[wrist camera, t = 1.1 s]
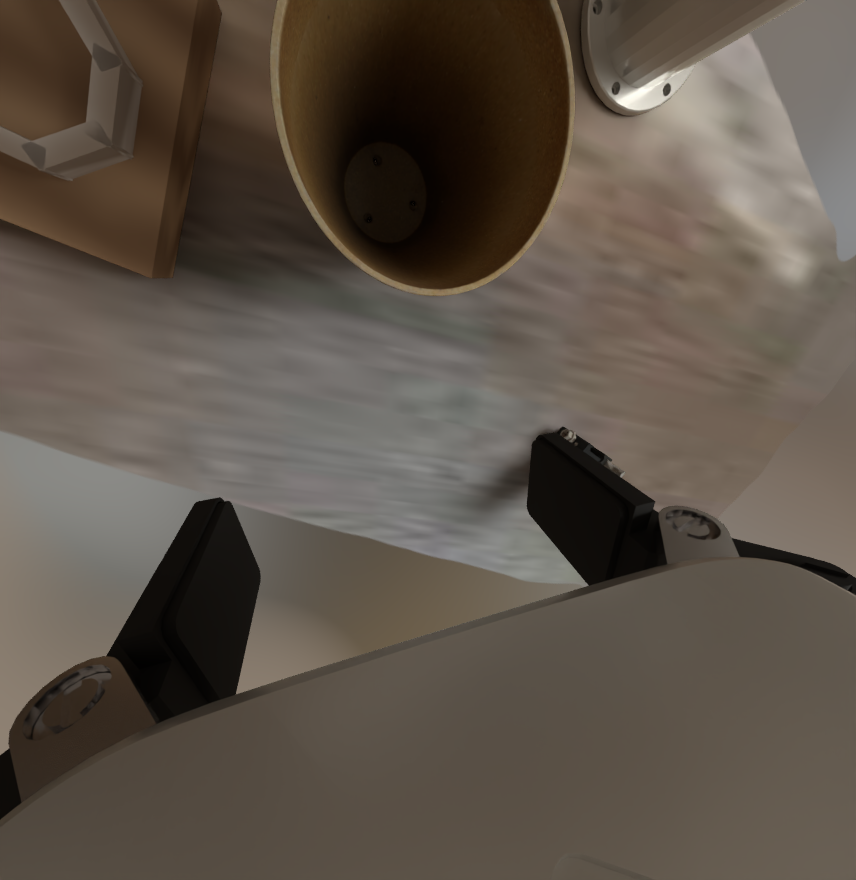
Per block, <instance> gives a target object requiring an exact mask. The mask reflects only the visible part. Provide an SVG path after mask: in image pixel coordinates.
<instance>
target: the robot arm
mask: <svg viewBox="0 0 856 880" xmlns="http://www.w3.org/2000/svg"><path fill="white" fill-rule="evenodd" d="M804 1H806V0H584V2H583V8H582V21H581V40H582V52H583V58H584V63H585V68H586V71H587V74H588V77H589V80H590V83H591V85H592V87H593V89H594V90H595V92H596V94H597V96H598V97H599V98H600V99H601V101H602V102H603V103H604V104H605V105H606V106H607V107H609V108H610V109H611V110H613V111H614V112H616V113H620V114H623V115H639V114H643V113H646V112H649V111H650V110H652V109H654V108H657V107H659V106H660V105H662V104H663V103H665V102H666V101H668V100H669V99H670V98H671V97H672V96H673V95H674V94H675V93H676V92H677V91H678V90H679V89H680V88H681V87H682V85H683V84H684V82H685V81H686V80H687V78H688V77H689V76H690V74H691V72H692V70H693V69H694V67H695V65H696V63H697V62H699V61H701V60H703V59H704V58H706V57H708V56H710V55H711V54H713V53H715V52H717V51H718V50H720V49H722V48H724V47H725V46H727V45H729V44H731V43H732V42H734V41H736V40H738V39H739V38H741V37H743V36H745V35H746V34H748V33H750V32H752V31H753V30H755V29H757V28H758V27H760V26H762V25H764V24H766V23H767V22H769V21H771V20H773V19H774V18H776V17H778V16H779V15H781V14H783V13H785V12H787V11H788V10H790V9H792V8H794V7H796V6H797V5H799V4H801V3H803V2H804ZM654 504H655V501H654V500H652V499H651V498H649V497H648V496H647V495H645V494H644V493H642V492H641V491H639V490H638V489H637V488H635V487H634V486H632V485H631V484H629V483H628V482H627V481H625V480H624V479H622V478H621V477H619V476H618V475H617V474H615V473H614V472H612V471H611V470H609V469H608V468H606V467H605V466H604V465H602V464H601V463H599V462H598V461H596V460H595V459H594V458H592V457H591V456H589V455H588V454H586V453H585V452H584V451H582V450H581V449H579V448H578V447H576V446H575V445H574V444H572V443H571V442H569V441H568V440H566V439H565V438H564V437H562V436H561V435H559V434H558V433H556V432H555V433H549V434H544V435H539V436H538V437H537V438H536V440H535V441H533V443H532V451H531V462H530V474H529V485H528V497H527V509H528V512H529V514H530V516H531V517H532V518H533V519H534V520H535V522H536V523H537V524H538V525H539V526H540V528H541V529H542V530H543V531H544V532H545V534H546V535H547V536H548V537H549V538H550V540H551V541H552V542H553V543H554V544H555V546H556V547H557V548H558V549H559V550H560V552H561V553H562V554H563V555H564V556H565V558H566V559H567V560H568V561H569V562H570V564H571V565H572V566H573V567H574V568H575V570H576V571H577V572H578V573H579V574H580V576H581V577H582V578H583V579H584V580H585V582H586V583H587V584H588V585H589V586H587V587H583V588H580V589H577V590H573V591H570V592H567V593H563V594H560V595H557V596H553V597H550V598H547V599H543V600H540V601H536V602H533V603H530V604H526V605H523V606H520V607H516V608H513V609H510V610H506V611H503V612H500V613H497V614H493V615H490V616H487V617H483V618H480V619H477V620H473V621H470V622H467V623H463V624H460V625H457V626H454V627H450V628H447V629H444V630H440V631H437V632H434V633H431V634H427V635H424V636H421V637H417V638H414V639H411V640H408V641H404V642H401V643H398V644H395V645H392V646H388V647H385V648H382V649H378V650H375V651H372V652H369V653H366V654H362V655H359V656H356V657H353V658H349V659H346V660H343V661H340V662H337V663H333V664H330V665H327V666H324V667H321V668H317V669H314V670H311V671H308V672H304V673H301V674H298V675H295V676H292V677H288V678H285V679H282V680H279V681H276V682H273V683H270V684H267V685H264V686H261V687H258V688H255V689H252V690H249V691H246V692H243V693H240V694H236V690H237V686H238V681H239V677H240V672H241V668H242V663H243V659H244V654H245V649H246V645H247V640H248V636H249V631H250V626H251V622H252V617H253V613H254V608H255V603H256V599H257V594H258V590H259V585H260V570H259V567H258V565H257V562H256V560H255V557H254V555H253V553H252V550H251V548H250V546H249V544H248V541H247V539H246V536H245V534H244V531H243V529H242V527H241V524H240V522H239V520H238V517H237V515H236V513H235V510H234V508H233V505H232V503H231V502H230V501H225V502H224V500H223V499H222V498H220V497H219V498H214V499H209V500H204V501H199V502H196V503H195V504H194V506H193V507H192V509H191V511H190V513H189V514H188V516H187V518H186V520H185V521H184V523H183V525H182V526H181V528H180V530H179V532H178V533H177V535H176V537H175V539H174V540H173V542H172V544H171V546H170V547H169V549H168V551H167V552H166V554H165V556H164V558H163V560H162V561H161V563H160V564H159V566H158V568H157V570H156V571H155V573H154V574H153V576H152V578H151V580H150V581H149V583H148V585H147V587H146V588H145V590H144V592H143V593H142V595H141V597H140V599H139V600H138V602H137V604H136V606H135V608H134V609H133V611H132V613H131V614H130V616H129V618H128V619H127V621H126V623H125V625H124V626H123V628H122V630H121V632H120V633H119V635H118V637H117V639H116V640H115V642H114V644H113V645H112V647H111V649H110V651H109V652H108V654H107V656H102V657H98V658H93V659H89V660H87V661H85V662H82V663H80V664H77V665H75V666H73V667H72V668H70V669H68V670H67V671H65V672H63V673H62V674H60V675H59V676H57V677H56V678H55V679H53V680H52V681H51V682H49V683H48V684H47V685H46V686H44V687H43V688H42V689H41V690H40V691H39V692H38V693H37V694H36V695H35V696H34V697H33V698H32V699H31V700H30V701H29V702H28V703H27V704H26V705H25V707H24V708H23V709H22V711H21V712H20V713H19V715H18V716H17V717H16V719H15V721H14V723H13V725H12V728H11V729H10V732H9V743H8V744H9V749H8V750H7V751H5V752H4V753H3V754H1V755H0V880H856V578H855V577H853V576H852V575H850V574H848V573H847V572H845V571H844V570H843V569H841V568H839V567H837V566H835V565H833V564H831V563H828V562H825V561H821V560H817V559H814V558H810V557H806V556H802V555H798V554H794V553H790V552H786V551H782V550H778V549H774V548H770V547H766V546H762V545H757V544H753V543H749V542H745V541H741V540H737V539H733V538H731V536H730V533H729V531H728V530H727V528H726V527H725V525H724V524H722V523H721V522H720V521H719V520H718V519H716V518H715V517H713V516H711V515H709V514H708V513H705V512H703V511H700V510H698V509H694V508H690V507H685V506H668V507H665V508H663V509H662V510H661V511H660V512H659V513H658V512H656V511H655V510H654V509H653V507H654Z"/></svg>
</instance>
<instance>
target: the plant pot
mask: <svg viewBox="0 0 856 880" xmlns="http://www.w3.org/2000/svg"><path fill="white" fill-rule="evenodd" d="M270 85H271V97H272V105H273V111H274V117H275V122H276V128H277V132H278V136H279V140H280V144H281V148H282V151H283V154H284V157H285V160H286V163H287V166H288V168H289V171H290V173H291V176H292V178H293V181H294V183H295V185H296V187H297V189H298V192H299V194H300V196H301V198H302V200H303V201H304V203H305V205H306V207H307V208H308V210H309V212H310V213H311V215H312V217H313V218H314V220H315V221H316V223H317V224H318V226H319V227H320V229H321V230H322V231H323V232H324V234H325V235H326V236H327V237H328V239H329V240H330V241H331V242H332V243H333V244H334V246H335V247H336V248H337V249H338V250H339V251H340V252H341V253H342V254H343V255H344V256H345V257H346V258H347V259H348V260H350V261H351V262H352V263H353V264H355V265H356V266H357V267H358V268H360V269H361V270H362V271H364V272H365V273H367V274H368V275H370V276H371V277H373V278H375V279H376V280H378V281H380V282H382V283H384V284H386V285H389V286H391V287H393V288H396V289H398V290H401V291H405V292H408V293H413V294H418V295H427V296H446V295H454V294H459V293H463V292H467V291H470V290H473V289H475V288H478V287H480V286H482V285H484V284H486V283H488V282H490V281H492V280H494V279H495V278H497V277H498V276H500V275H501V274H502V273H504V272H505V271H507V270H508V269H509V268H510V267H511V266H512V265H514V264H515V263H516V262H517V261H518V260H519V259H520V258H521V256H522V255H523V254H524V253H525V252H526V251H527V250H528V248H529V247H530V246H531V244H532V243H533V242H534V240H535V239H536V238H537V236H538V235H539V233H540V232H541V230H542V229H543V227H544V225H545V223H546V221H547V220H548V218H549V216H550V214H551V212H552V209H553V207H554V205H555V203H556V201H557V198H558V195H559V193H560V190H561V187H562V184H563V181H564V177H565V174H566V170H567V165H568V161H569V157H570V151H571V144H572V137H573V127H574V115H575V88H574V74H573V64H572V58H571V51H570V45H569V41H568V36H567V32H566V28H565V24H564V21H563V17H562V14H561V11H560V8H559V5H558V3H557V0H277V4H276V8H275V13H274V18H273V25H272V32H271V42H270ZM374 158H375V159H376V160H377V165H375V163H374ZM411 201H414V202H415V204H416V205H415V206H412V205H411ZM369 217H370V218H372V220H371V221H370V222H367V219H368V218H369Z"/></svg>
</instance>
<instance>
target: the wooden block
mask: <svg viewBox="0 0 856 880" xmlns="http://www.w3.org/2000/svg"><path fill="white" fill-rule="evenodd" d="M221 16H222V13H221V10H220V8H219V5H218V3H217V0H0V219H2V220H5V221H7V222H10V223H12V224H15V225H17V226H20V227H22V228H25V229H28V230H30V231H33V232H35V233H38V234H40V235H43V236H45V237H48V238H50V239H53V240H55V241H58V242H60V243H63V244H66V245H68V246H71V247H73V248H76V249H78V250H81V251H83V252H86V253H88V254H91V255H93V256H96V257H98V258H101V259H103V260H106V261H109V262H111V263H114V264H116V265H119V266H121V267H124V268H126V269H129V270H131V271H134V272H136V273H139V274H141V275H144V276H147V277H149V278H173V273H174V268H175V262H176V257H177V252H178V246H179V241H180V236H181V230H182V225H183V220H184V214H185V209H186V203H187V198H188V193H189V187H190V182H191V177H192V171H193V166H194V160H195V155H196V150H197V144H198V139H199V134H200V128H201V123H202V118H203V112H204V107H205V101H206V96H207V91H208V85H209V80H210V75H211V69H212V64H213V58H214V53H215V48H216V42H217V37H218V32H219V26H220V21H221Z"/></svg>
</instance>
